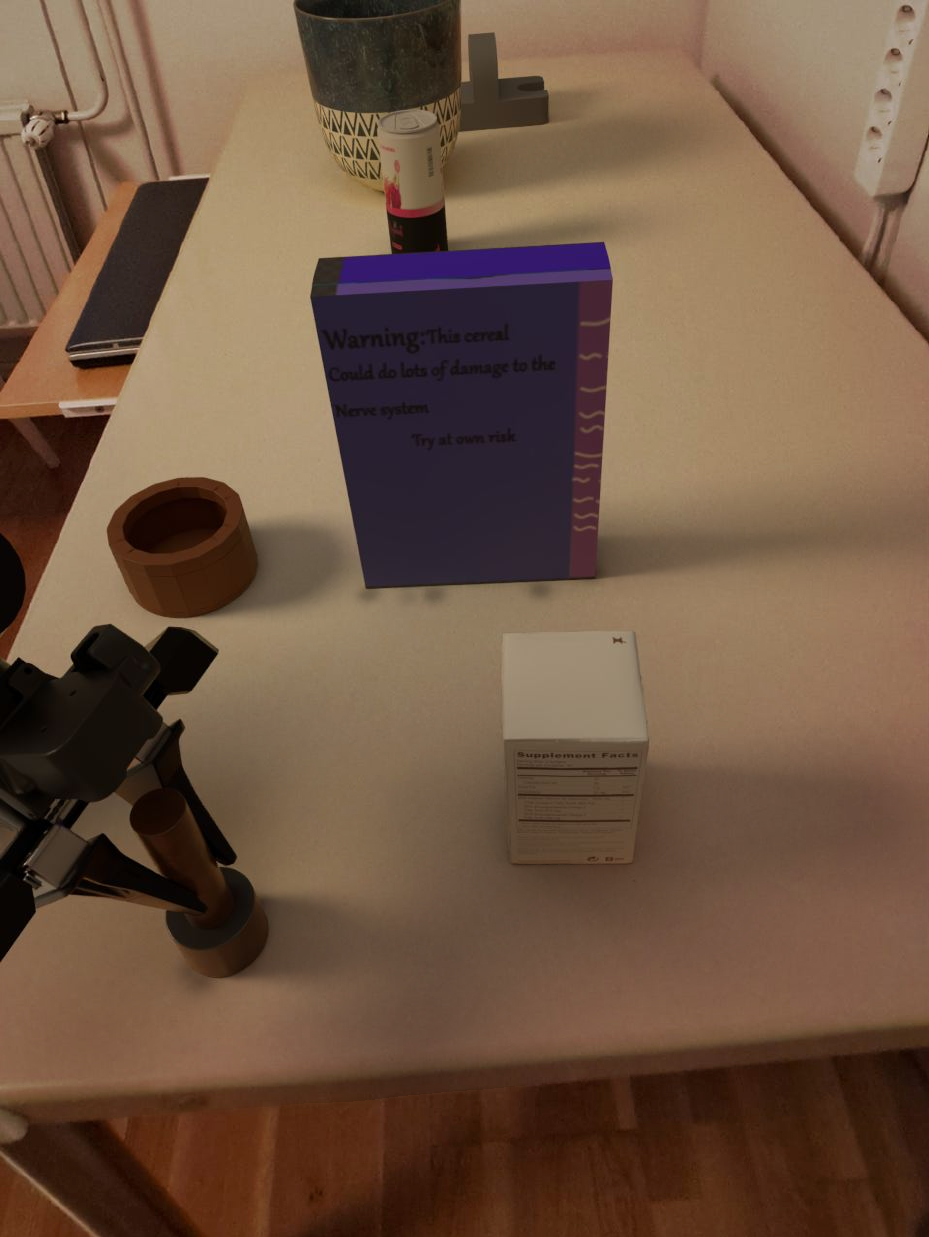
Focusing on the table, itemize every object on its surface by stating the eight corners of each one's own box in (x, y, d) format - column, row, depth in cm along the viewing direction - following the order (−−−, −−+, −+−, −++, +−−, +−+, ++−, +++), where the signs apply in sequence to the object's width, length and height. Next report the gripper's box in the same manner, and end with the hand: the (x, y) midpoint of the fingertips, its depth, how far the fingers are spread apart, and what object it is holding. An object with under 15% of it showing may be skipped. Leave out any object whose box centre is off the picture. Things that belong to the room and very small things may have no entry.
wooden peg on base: (189, 990, 51) (110, 872, 41) (177, 913, 54) (100, 787, 44) (276, 959, 52) (217, 836, 42) (259, 884, 55) (201, 755, 45)
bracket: (549, 123, 136) (549, 39, 128) (425, 134, 136) (418, 50, 128) (541, 101, 142) (541, 19, 135) (423, 111, 142) (417, 30, 135)
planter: (447, 219, 116) (433, 19, 100) (301, 210, 120) (266, 18, 104) (486, 157, 128) (478, -28, 113) (353, 152, 133) (328, -28, 117)
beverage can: (396, 275, 106) (380, 134, 95) (388, 250, 111) (372, 113, 100) (453, 266, 107) (443, 126, 96) (443, 242, 111) (432, 105, 100)
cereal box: (589, 536, 74) (604, 238, 57) (595, 578, 71) (613, 275, 53) (369, 546, 75) (318, 255, 57) (365, 588, 71) (309, 292, 54)
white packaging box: (506, 762, 60) (501, 627, 51) (624, 762, 59) (639, 626, 50) (505, 867, 55) (499, 739, 45) (634, 868, 54) (653, 738, 45)
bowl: (138, 633, 70) (113, 580, 66) (124, 550, 76) (101, 497, 72) (269, 595, 72) (253, 541, 68) (245, 517, 78) (229, 464, 74)
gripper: (-190, 844, 31) (186, 1071, 36) (129, 499, 43) (379, 705, 48) (-225, 889, 39) (88, 1070, 44) (53, 587, 51) (275, 756, 56)
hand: (218, 886), depth 48 cm, fingers closed on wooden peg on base, 2 cm apart
